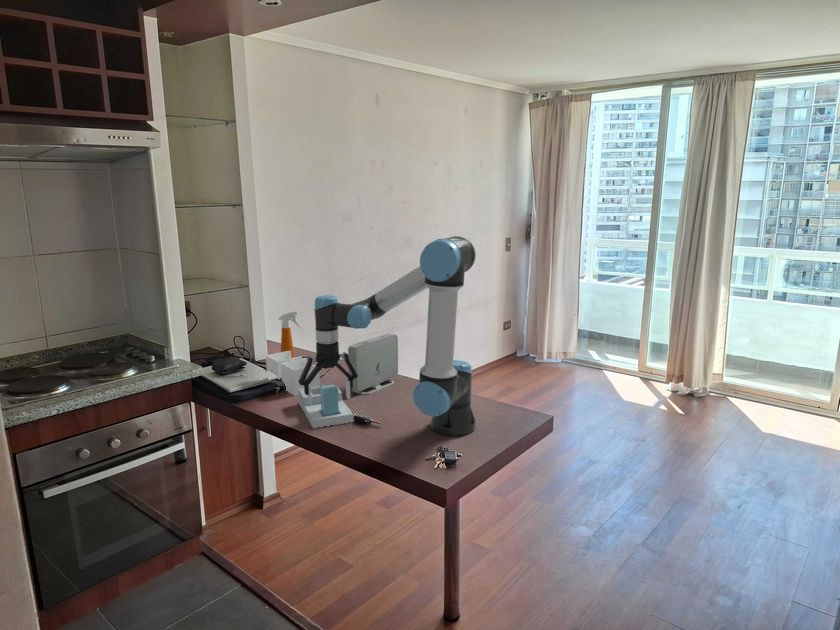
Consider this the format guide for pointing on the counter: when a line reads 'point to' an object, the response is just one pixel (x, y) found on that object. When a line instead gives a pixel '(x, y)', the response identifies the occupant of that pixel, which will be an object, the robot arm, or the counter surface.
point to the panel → (315, 409)
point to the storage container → (289, 370)
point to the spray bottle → (288, 332)
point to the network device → (374, 362)
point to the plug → (329, 400)
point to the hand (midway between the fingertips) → (329, 400)
